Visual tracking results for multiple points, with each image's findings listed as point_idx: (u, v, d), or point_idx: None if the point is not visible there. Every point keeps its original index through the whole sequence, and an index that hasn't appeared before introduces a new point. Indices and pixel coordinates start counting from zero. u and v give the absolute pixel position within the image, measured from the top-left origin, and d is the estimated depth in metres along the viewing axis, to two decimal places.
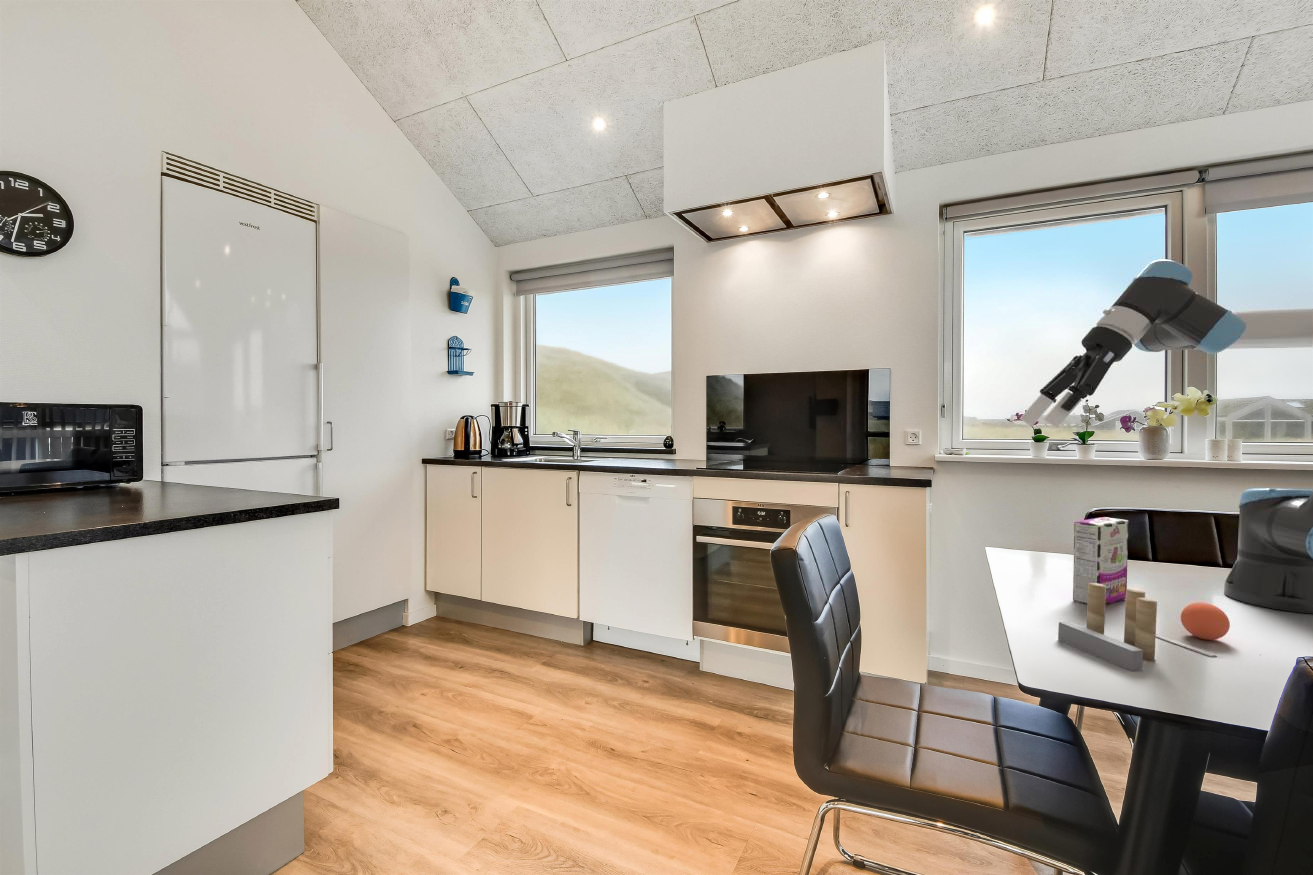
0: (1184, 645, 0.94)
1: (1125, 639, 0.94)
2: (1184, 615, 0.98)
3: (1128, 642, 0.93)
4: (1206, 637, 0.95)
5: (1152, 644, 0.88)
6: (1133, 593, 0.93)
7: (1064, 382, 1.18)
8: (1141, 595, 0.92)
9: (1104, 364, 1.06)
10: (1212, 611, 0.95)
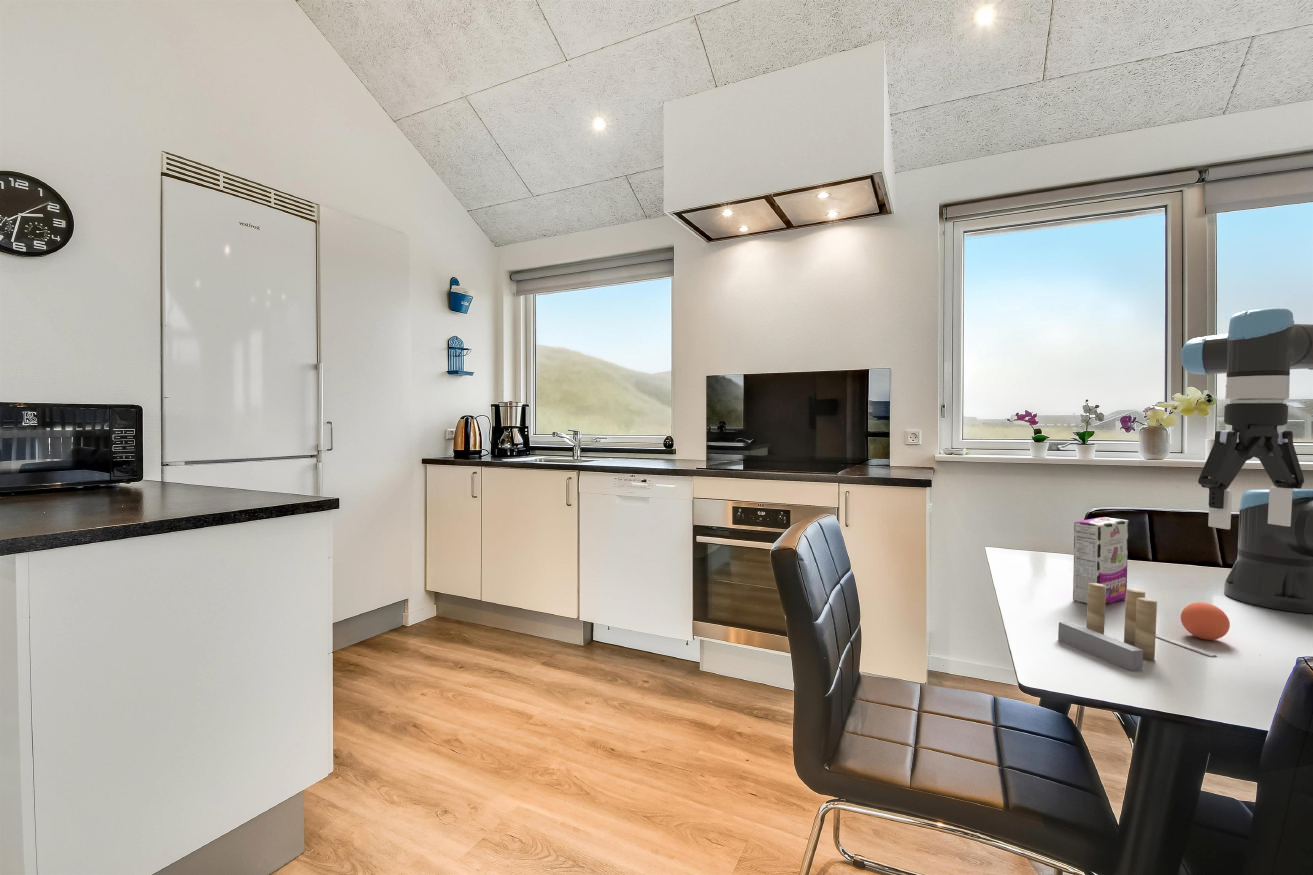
0: (1184, 645, 0.94)
1: (1125, 639, 0.94)
2: (1184, 615, 0.98)
3: (1128, 642, 0.93)
4: (1206, 637, 0.95)
5: (1152, 644, 0.88)
6: (1133, 593, 0.93)
7: (1270, 466, 0.99)
8: (1141, 595, 0.92)
9: (1222, 446, 0.96)
10: (1212, 611, 0.95)
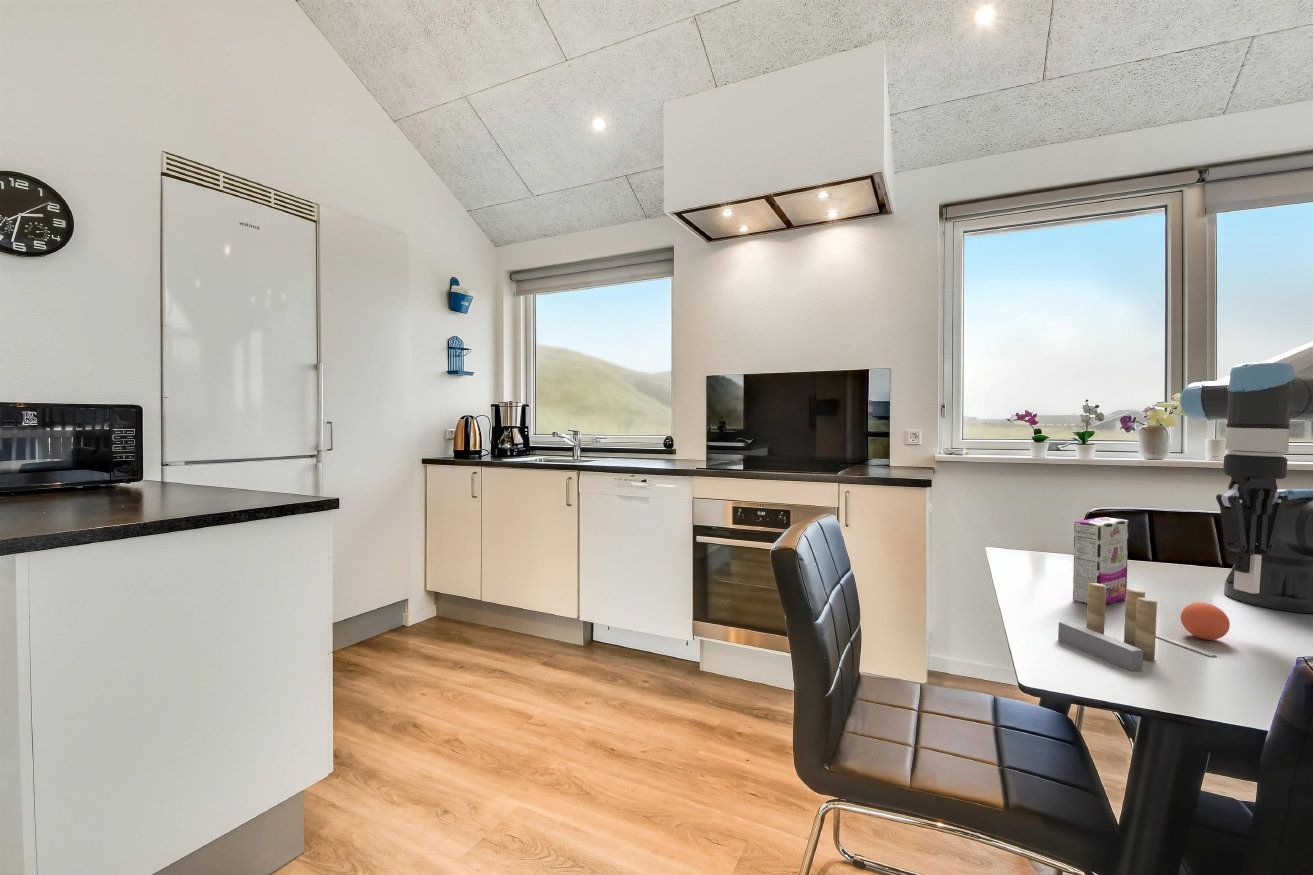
0: (1184, 645, 0.94)
1: (1125, 639, 0.94)
2: (1184, 615, 0.98)
3: (1128, 642, 0.93)
4: (1206, 637, 0.95)
5: (1152, 644, 0.88)
6: (1133, 593, 0.93)
7: None
8: (1141, 595, 0.92)
9: (1229, 511, 0.97)
10: (1212, 611, 0.95)
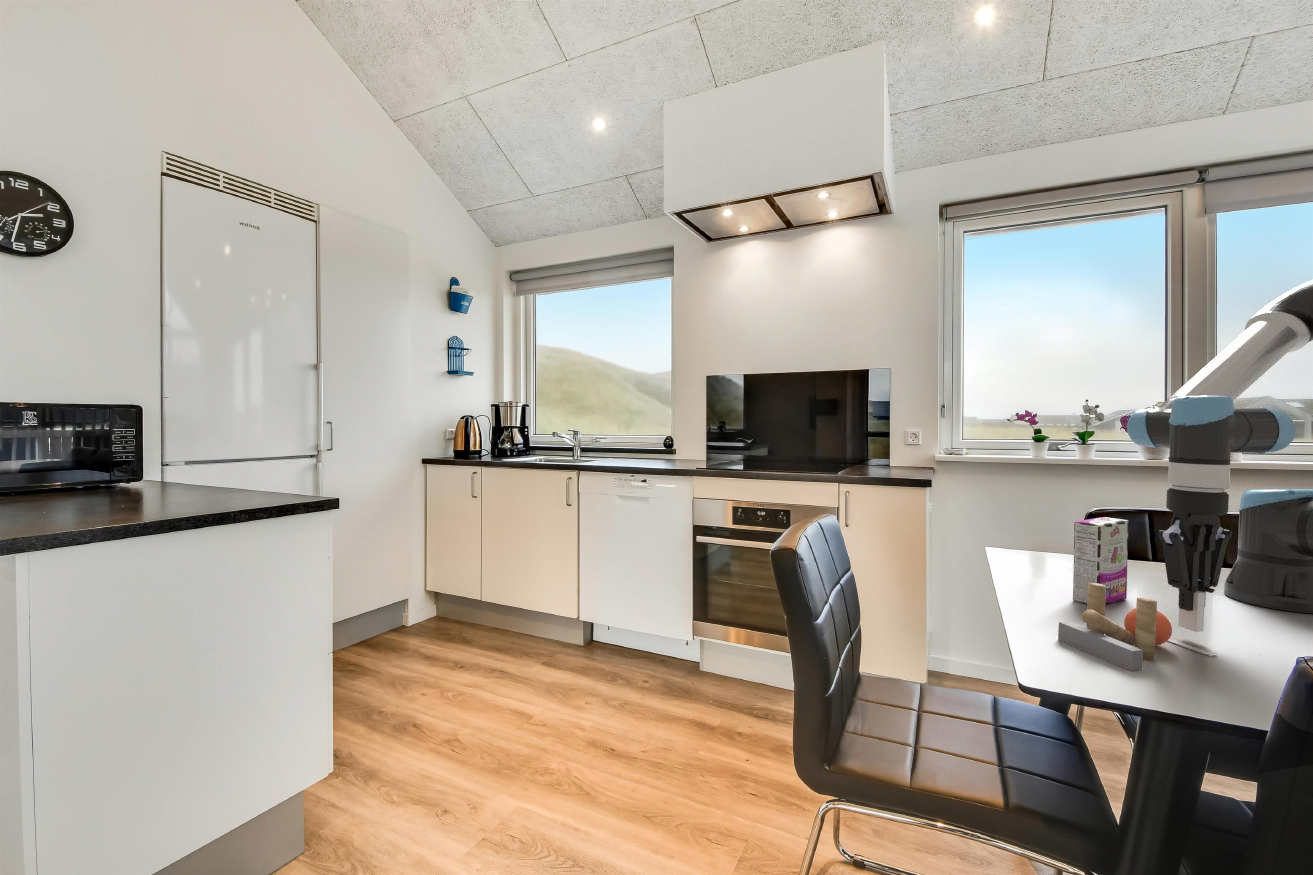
0: (1184, 645, 0.94)
1: None
2: None
3: None
4: None
5: (1152, 644, 0.88)
6: (1090, 624, 0.91)
7: None
8: (1097, 621, 0.91)
9: (1171, 548, 0.94)
10: None
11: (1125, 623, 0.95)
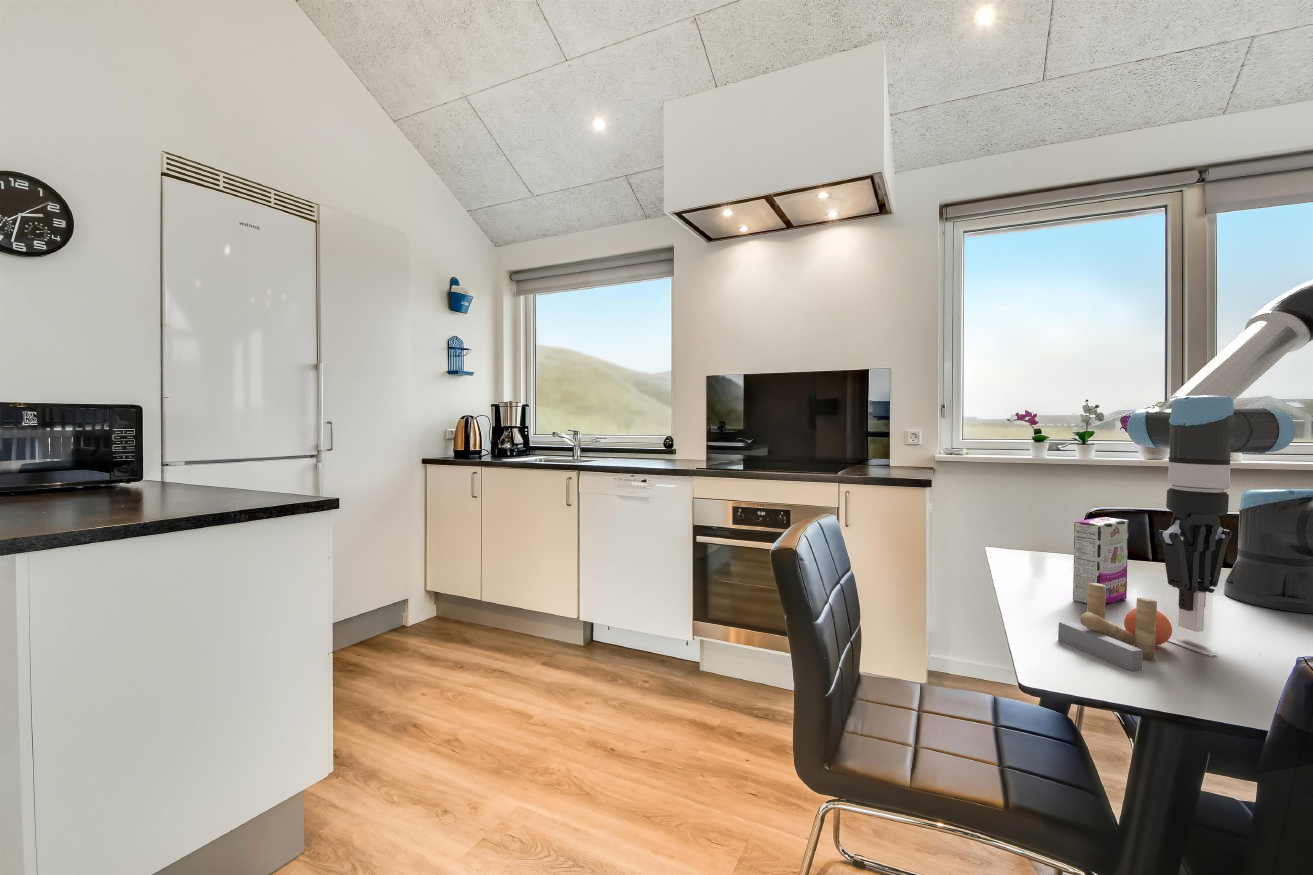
0: (1184, 645, 0.94)
1: None
2: None
3: None
4: None
5: (1152, 644, 0.88)
6: (1089, 627, 0.91)
7: None
8: (1095, 624, 0.91)
9: (1171, 548, 0.94)
10: None
11: (1125, 623, 0.95)
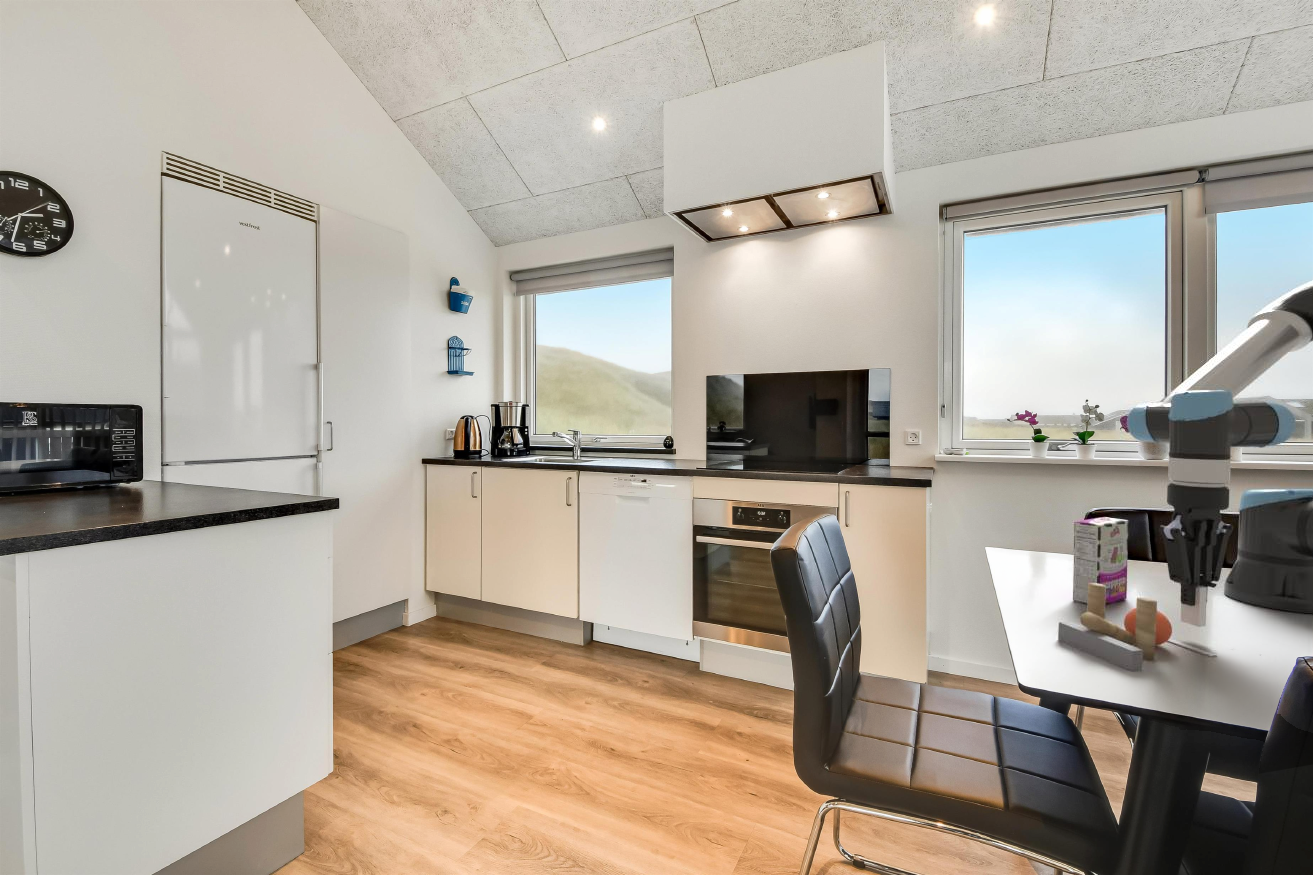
0: (1184, 645, 0.94)
1: None
2: None
3: None
4: None
5: (1152, 644, 0.88)
6: (1089, 627, 0.91)
7: None
8: (1095, 624, 0.91)
9: (1172, 544, 0.94)
10: None
11: (1125, 623, 0.95)
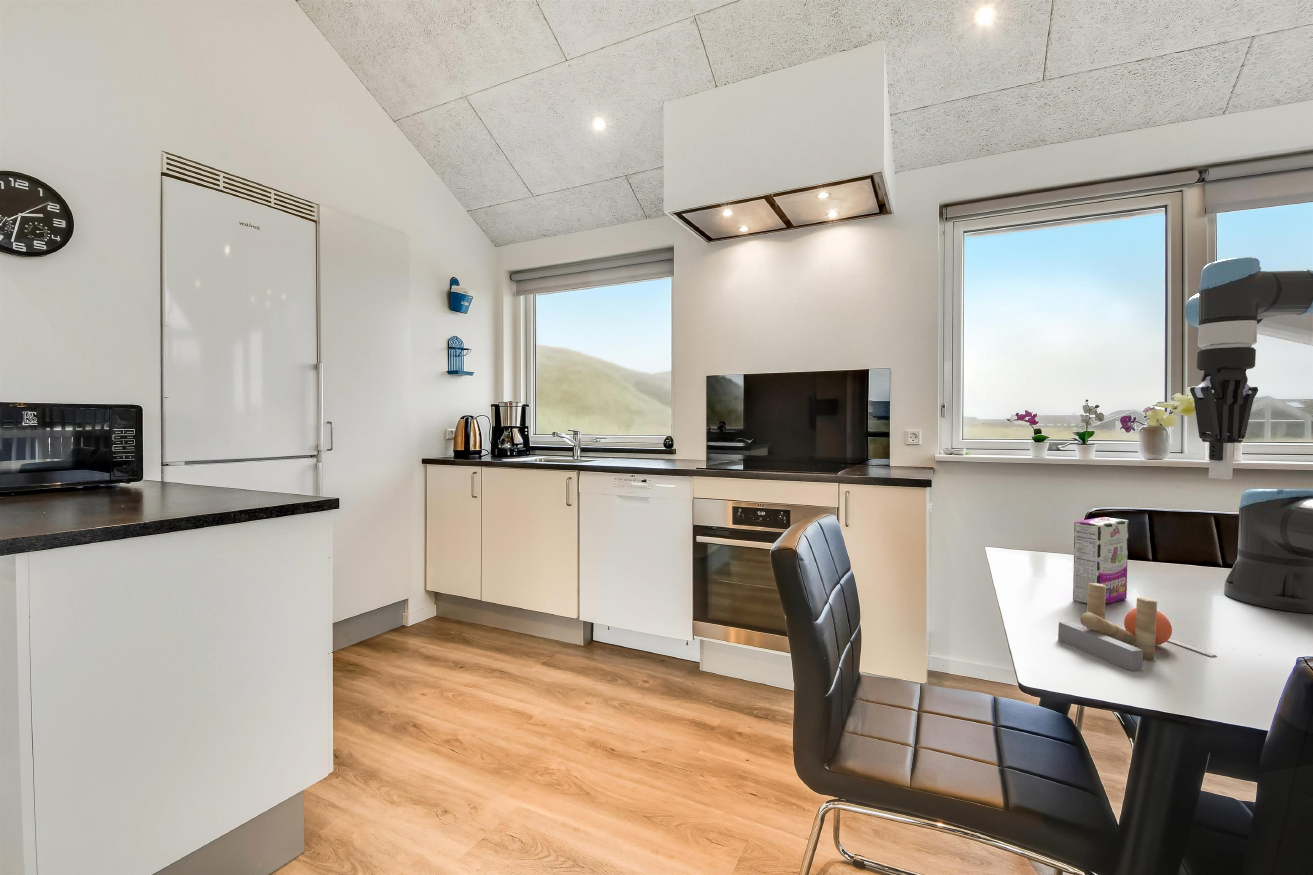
0: (1184, 645, 0.94)
1: None
2: None
3: None
4: None
5: (1152, 644, 0.88)
6: (1089, 627, 0.91)
7: None
8: (1095, 624, 0.91)
9: (1202, 402, 1.02)
10: None
11: (1125, 623, 0.95)
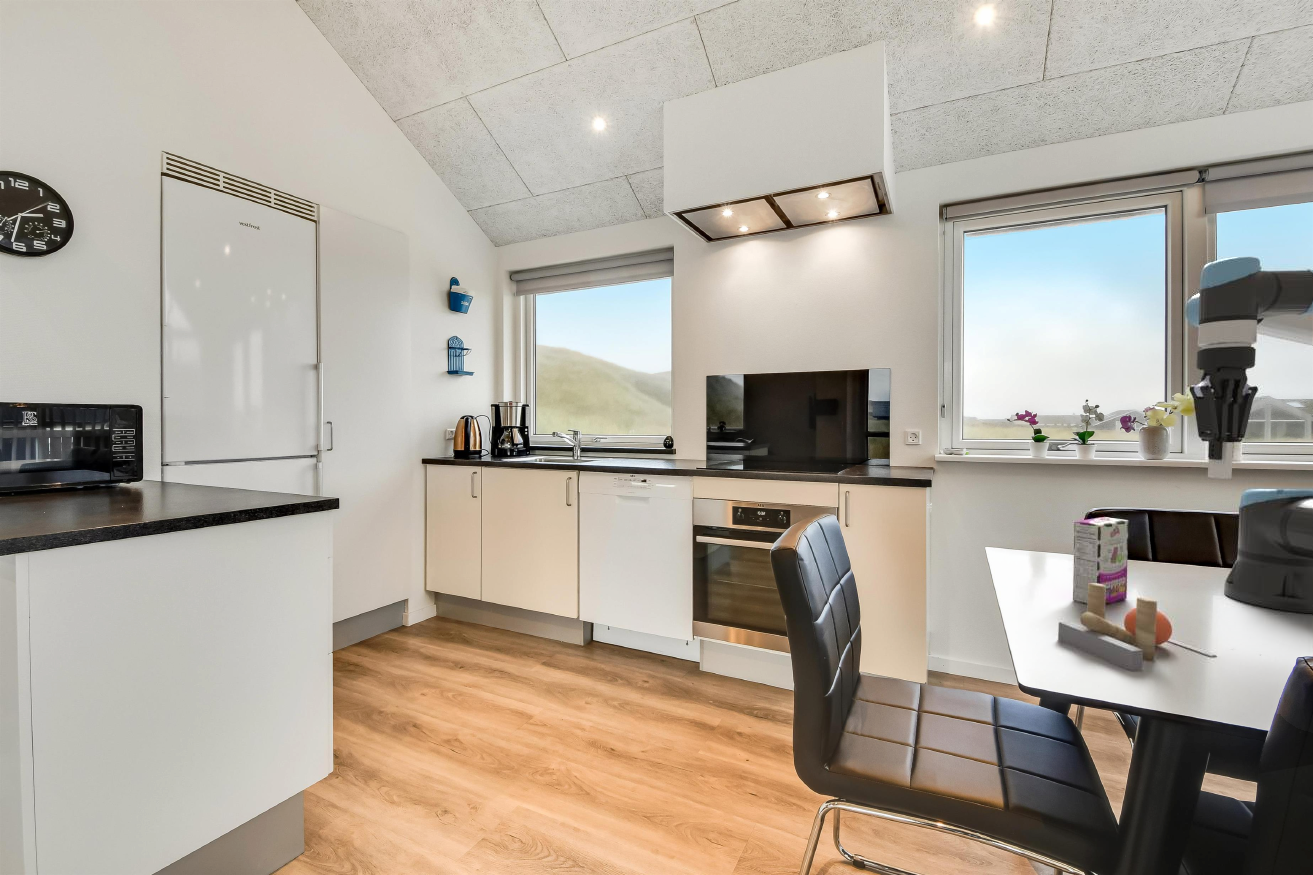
0: (1184, 645, 0.94)
1: None
2: None
3: None
4: None
5: (1152, 644, 0.88)
6: (1089, 627, 0.91)
7: None
8: (1095, 624, 0.91)
9: (1202, 401, 1.02)
10: None
11: (1125, 623, 0.95)
